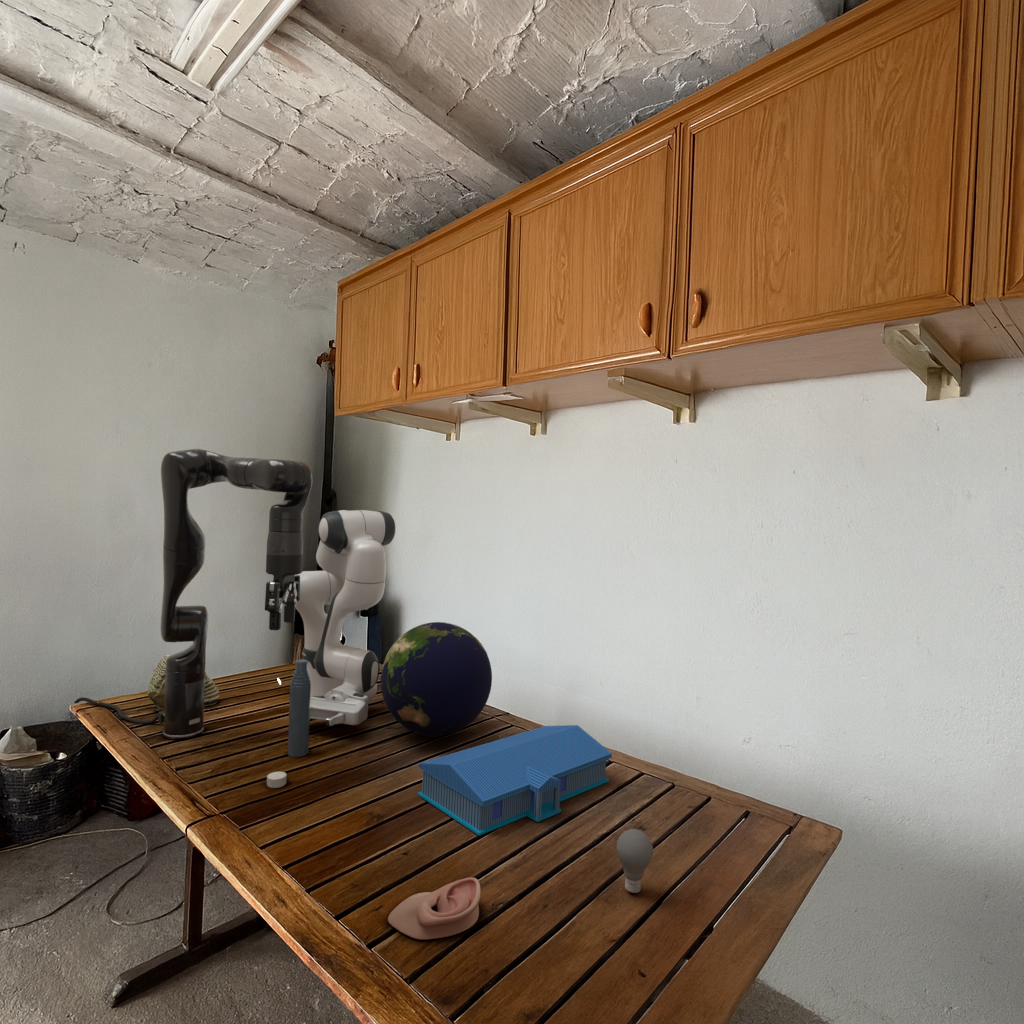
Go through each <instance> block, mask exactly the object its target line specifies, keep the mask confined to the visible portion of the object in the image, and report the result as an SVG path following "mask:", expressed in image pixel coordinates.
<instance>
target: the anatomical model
mask: <svg viewBox="0 0 1024 1024" xmlns="http://www.w3.org/2000/svg"><path fill="white" fill-rule="evenodd" d="M481 894H482V893H481V884H480V881H479V880H478V879H477V878H476V877H464V878H461V879H458V880H455V881H453V882H450V883H448V884H446V885H443V886H441V887H440V888H437V889H435V890H433V891H431V892H430V891H426V892H425V891H424V892H418V893H415V894H413V895H410V896H408V897H407V898H406V899H404V900H403V901H401V902H400V903H398V905H397V906H396V907H394V909H393V910H392V911H391V912H390V913H389V915H388V917H387V922H388V924H389V925H391V927H393V928H394V929H396V930H397V931H398V932H400V933H401V934H404V935H405V936H407V937H410V938H412V939H414V940H433V939H440V938H446V937H451V936H454V935H457V934H460V933H463V932H464V931H467V930H468V929H470V928H472V927H473V926H474V925H475V924H476V923H477V922H478V920H479V917H480V916H479V915H480V907H479V903H480V900H481Z"/></svg>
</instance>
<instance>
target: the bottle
mask: <svg viewBox="0 0 1024 1024" xmlns="http://www.w3.org/2000/svg"><path fill="white" fill-rule="evenodd" d="M307 662H308V661H307V660H305V659H303V658H299V659H296V660H295V662H294V664H295V669H294V671H293V674H292V677H291V680H290V684H289V701H288V703H289V705H288V729H287V731H288V732H287V752H286V753H287V756H289V757H291V758H300V757H304V756H306V755H308V754H309V750H310V748H309V747H310V721H311V719H310V700H311V697H312V696H311V680H310V677H309V674H308V671H307V664H308V663H307Z"/></svg>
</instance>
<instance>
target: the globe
mask: <svg viewBox="0 0 1024 1024" xmlns="http://www.w3.org/2000/svg"><path fill="white" fill-rule="evenodd" d="M380 673H381V674H380V688H381V689H380V690H381V694H382V697H383V701H384V703H385V706H386V708H387V710H388V711H389V713H390V715H391V716H392V717H393V718H394V719H395V721H397V722H398V723H399V724H400V725H401V726H402V727H404V728H405V729H406V730H409V731H410V732H412V733H415V734H417V735H421V736H424V737H443V736H444V737H445V736H449V735H452V734H455V733H457V732H459V731H461V730H464V729H465V728H467V727H468V726H469V725H470V724H472V723H473V722H474V721H475V720H476V719H477V718H478V717H479V716H480V714H481V713H482V711H483V710H484V708H485V706H486V704H487V702H488V700H489V698H490V694H491V690H492V684H493V683H492V682H493V671H492V666H491V660H490V658H489V656H488V652H487V651H486V649H485V647H484V645H483V644H482V643H481V642H480V640H479V639H478V638H477V637H476V636H475V635H473V634H472V633H471V632H469V631H468V630H467V629H466V628H463V627H461V626H460V625H457V624H453V623H450V622H445V621H434V622H432V621H431V622H428V623H423V624H419V625H416V626H415V627H413V628H411V629H409V630H407V631H406V632H404V633H403V634H402V635H401V636H399V637H398V638H397V639H396V641H395V642H394V643H392V645H391V647H390V648H389V650H388V652H387V653H386V656H385V658H384V660H383V664H382V668H381V672H380Z"/></svg>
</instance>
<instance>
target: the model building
mask: <svg viewBox="0 0 1024 1024" xmlns="http://www.w3.org/2000/svg"><path fill="white" fill-rule="evenodd" d="M612 758H613V753H612V752H611V751H610V750H609V749H608V748H606V747H605V746H604V745H603V744H601V743H600V742H599V741H597V740H596V739H595V738H594V737H593V736H591V735H590V733H588V732H587V731H586V730H584V729H583V728H582V727H581V726H579V725H578V724H571V725H569V724H567V725H544V726H541V727H538V728H533V729H530V730H526V731H524V732H520V733H517V734H514V735H510V736H505V737H504V738H500V739H497V740H493V741H489V742H486V743H484V744H480V745H476V746H473V747H469V748H466V749H463V750H459V751H457V752H456V751H455V752H452V753H449V754H446V755H442V756H439V757H436V758H432V759H428V760H425V761H422V762H418V769H420V770H421V771H422V782H421V783H422V785H421V791H419V792H417V796H419V797H420V798H421V799H423V800H425V802H428V803H429V804H431V805H432V806H433V807H435V808H436V809H438V810H439V811H441V812H443V813H444V814H445V815H447V816H449V817H450V818H452V819H453V820H455V821H456V822H458V823H459V824H461V825H462V826H464V827H465V828H467V829H468V830H470V831H471V832H473V833H474V834H476V835H477V836H478V837H480V836H482V835H485V834H487V833H489V832H491V831H494V830H496V829H499V828H501V827H504V826H506V825H508V824H511V823H514V822H515V821H518V820H520V819H524V818H525V817H527V818H530V819H531V820H532V821H535V822H536V823H539V822H541V821H543V820H546V819H549V818H551V817H553V816H555V815H558V814H560V813H562V808H561V807H560V806H561V805H560V804H561V802H563V801H566V800H568V799H570V798H573V797H575V796H577V795H580V794H582V793H585V792H587V791H590V790H591V789H594V788H597V787H599V786H601V785H603V784H606V783H609V782H610V779H609V778H607V777H606V775H607V774H606V773H607V760H610V759H612Z"/></svg>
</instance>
